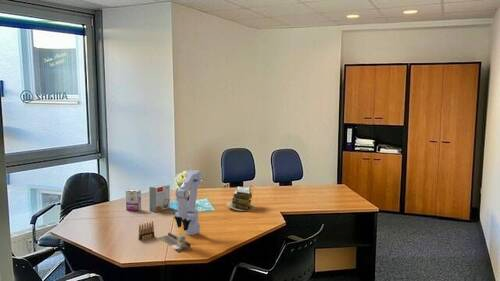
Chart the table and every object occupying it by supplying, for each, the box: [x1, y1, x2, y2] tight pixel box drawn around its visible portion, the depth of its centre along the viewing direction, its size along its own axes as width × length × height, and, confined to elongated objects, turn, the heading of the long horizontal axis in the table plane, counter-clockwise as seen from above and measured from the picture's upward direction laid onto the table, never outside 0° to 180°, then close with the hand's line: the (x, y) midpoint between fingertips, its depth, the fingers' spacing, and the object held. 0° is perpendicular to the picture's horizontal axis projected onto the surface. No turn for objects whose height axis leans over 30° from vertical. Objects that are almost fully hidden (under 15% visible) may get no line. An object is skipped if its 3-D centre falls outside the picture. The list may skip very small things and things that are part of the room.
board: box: [157, 232, 192, 253], centre depth 262 cm, size 9×26×3 cm, turn 40°
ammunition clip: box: [137, 220, 155, 241], centre depth 268 cm, size 11×2×12 cm, turn 131°
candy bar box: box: [125, 189, 142, 212], centre depth 335 cm, size 11×5×16 cm, turn 76°
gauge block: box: [176, 233, 187, 247], centre depth 256 cm, size 4×4×6 cm
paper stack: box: [225, 186, 257, 212], centre depth 343 cm, size 25×25×17 cm
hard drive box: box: [148, 183, 171, 213], centre depth 336 cm, size 16×8×20 cm, turn 143°
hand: (182, 228), depth 262 cm, fingers open, 7 cm apart
